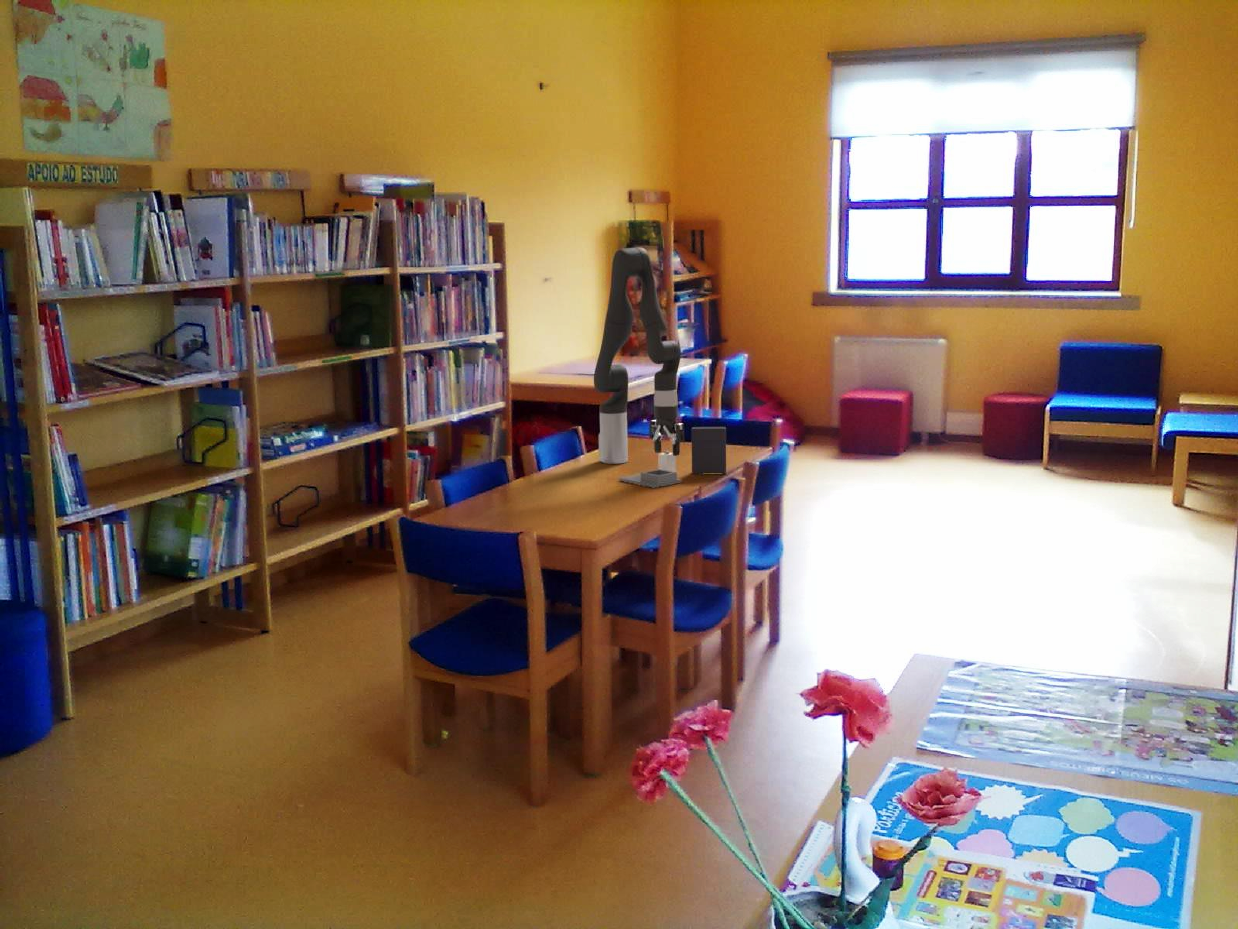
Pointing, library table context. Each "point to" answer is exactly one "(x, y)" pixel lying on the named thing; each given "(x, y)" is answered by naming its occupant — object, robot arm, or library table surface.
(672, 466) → the charger
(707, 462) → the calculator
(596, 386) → the robot arm
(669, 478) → the grey base with socket
